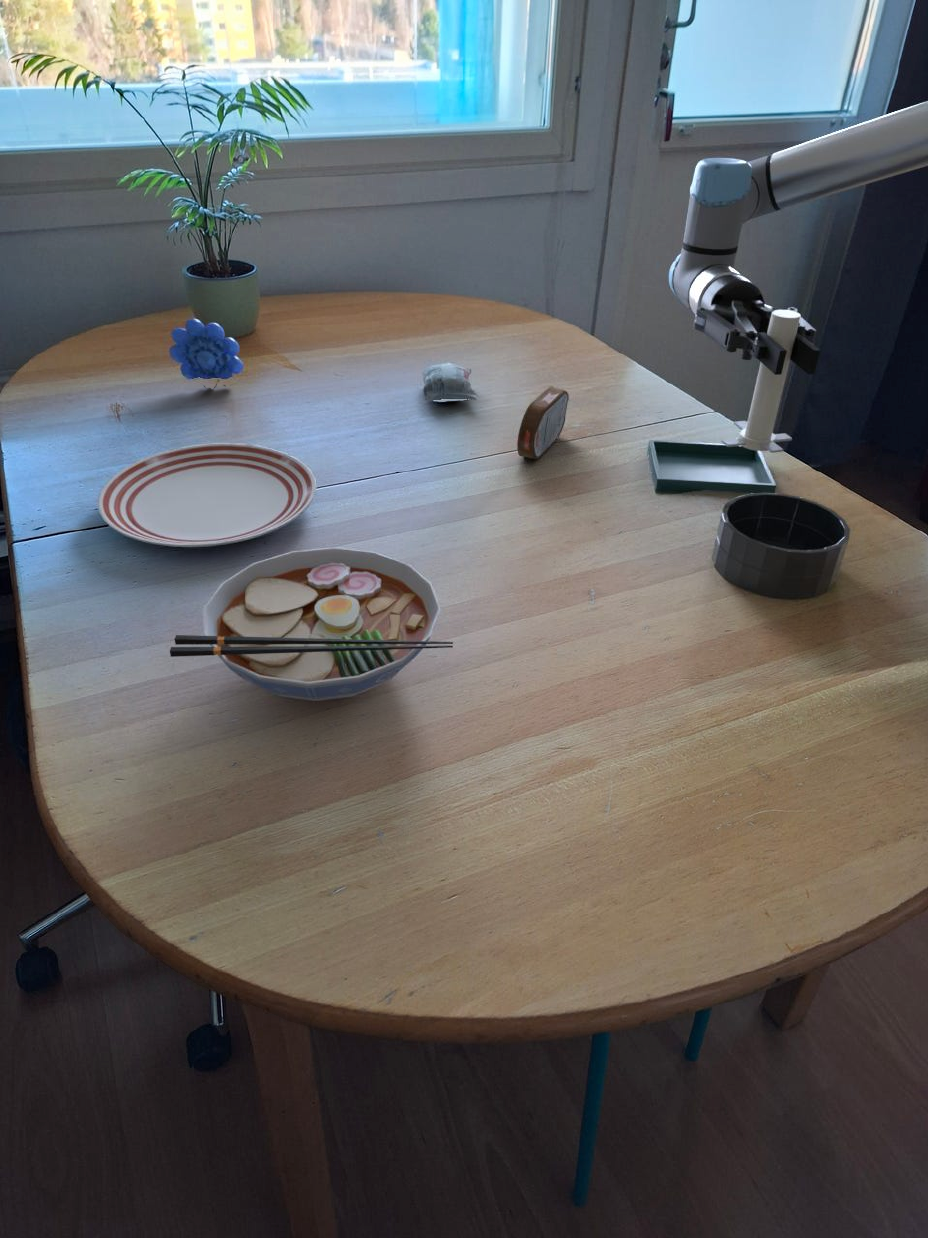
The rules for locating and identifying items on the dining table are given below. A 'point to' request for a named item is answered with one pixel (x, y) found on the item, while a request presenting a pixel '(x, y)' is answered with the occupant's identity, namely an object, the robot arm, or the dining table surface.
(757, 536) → the bowl
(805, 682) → the dining table surface
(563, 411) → the tin
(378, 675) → the ramen bowl
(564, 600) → the dining table surface
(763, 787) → the dining table surface
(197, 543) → the dinner plate
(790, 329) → the blade
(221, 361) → the blue flower rosette
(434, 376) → the packaged food
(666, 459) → the tray
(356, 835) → the dining table surface
